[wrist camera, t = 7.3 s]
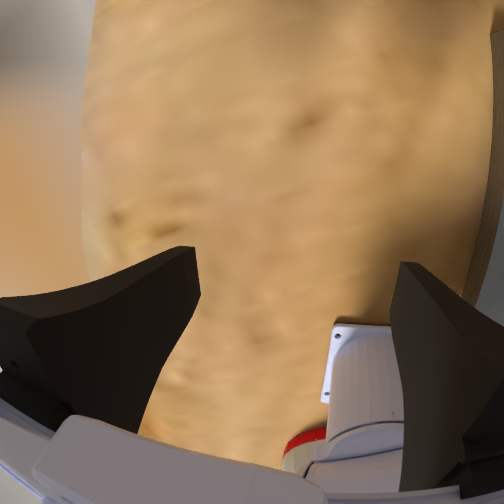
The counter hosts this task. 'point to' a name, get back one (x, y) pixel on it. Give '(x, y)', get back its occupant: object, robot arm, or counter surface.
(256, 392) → the counter surface
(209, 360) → the counter surface
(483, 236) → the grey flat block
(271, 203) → the counter surface
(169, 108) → the counter surface
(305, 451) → the white and red dome
